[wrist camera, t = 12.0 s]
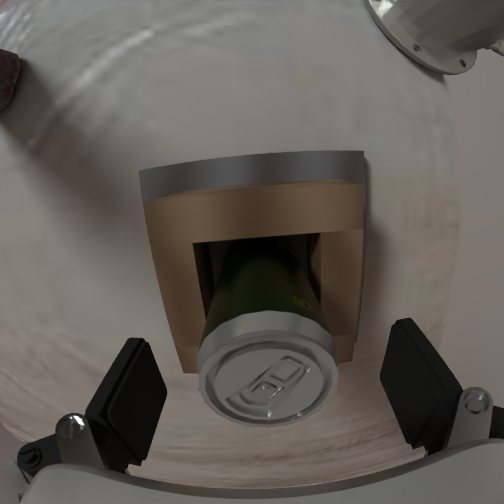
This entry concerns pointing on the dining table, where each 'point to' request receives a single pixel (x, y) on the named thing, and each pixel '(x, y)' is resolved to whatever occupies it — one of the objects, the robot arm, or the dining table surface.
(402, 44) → the robot arm
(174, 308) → the well block
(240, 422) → the beer can
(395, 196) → the dining table surface
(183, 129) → the dining table surface
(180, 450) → the dining table surface
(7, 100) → the brown cylinder
